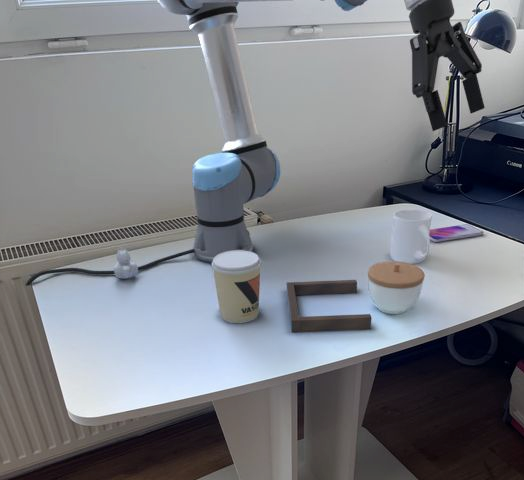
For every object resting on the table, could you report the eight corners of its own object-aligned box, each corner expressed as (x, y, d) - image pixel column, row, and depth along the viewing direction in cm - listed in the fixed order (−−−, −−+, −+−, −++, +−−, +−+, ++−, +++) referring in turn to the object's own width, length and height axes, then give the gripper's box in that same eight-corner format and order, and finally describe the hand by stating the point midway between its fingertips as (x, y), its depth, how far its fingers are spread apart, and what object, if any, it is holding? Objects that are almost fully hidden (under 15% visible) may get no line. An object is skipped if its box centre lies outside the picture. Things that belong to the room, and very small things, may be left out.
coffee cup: (246, 329, 98) (242, 272, 91) (207, 318, 102) (201, 262, 96) (271, 309, 104) (269, 254, 98) (233, 300, 109) (230, 246, 102)
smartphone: (484, 232, 135) (435, 240, 131) (484, 235, 135) (434, 243, 132) (467, 223, 141) (420, 230, 137) (467, 226, 141) (419, 233, 138)
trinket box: (415, 295, 107) (421, 253, 102) (423, 320, 98) (430, 275, 93) (363, 294, 109) (366, 253, 103) (367, 319, 100) (370, 275, 95)
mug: (409, 272, 117) (415, 227, 112) (382, 254, 127) (386, 211, 121) (441, 266, 119) (448, 222, 114) (412, 249, 129) (418, 207, 123)
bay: (291, 332, 96) (291, 320, 95) (286, 292, 111) (286, 282, 109) (370, 329, 96) (371, 317, 95) (355, 290, 111) (356, 279, 109)
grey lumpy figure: (137, 271, 124) (131, 239, 119) (141, 281, 118) (135, 249, 114) (114, 275, 122) (107, 243, 118) (117, 285, 117) (110, 252, 113)
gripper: (404, 0, 84) (440, 129, 90) (482, -18, 96) (509, 97, 102) (370, 23, 90) (406, 143, 96) (447, 3, 102) (475, 110, 108)
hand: (459, 119), depth 99 cm, fingers open, 13 cm apart
